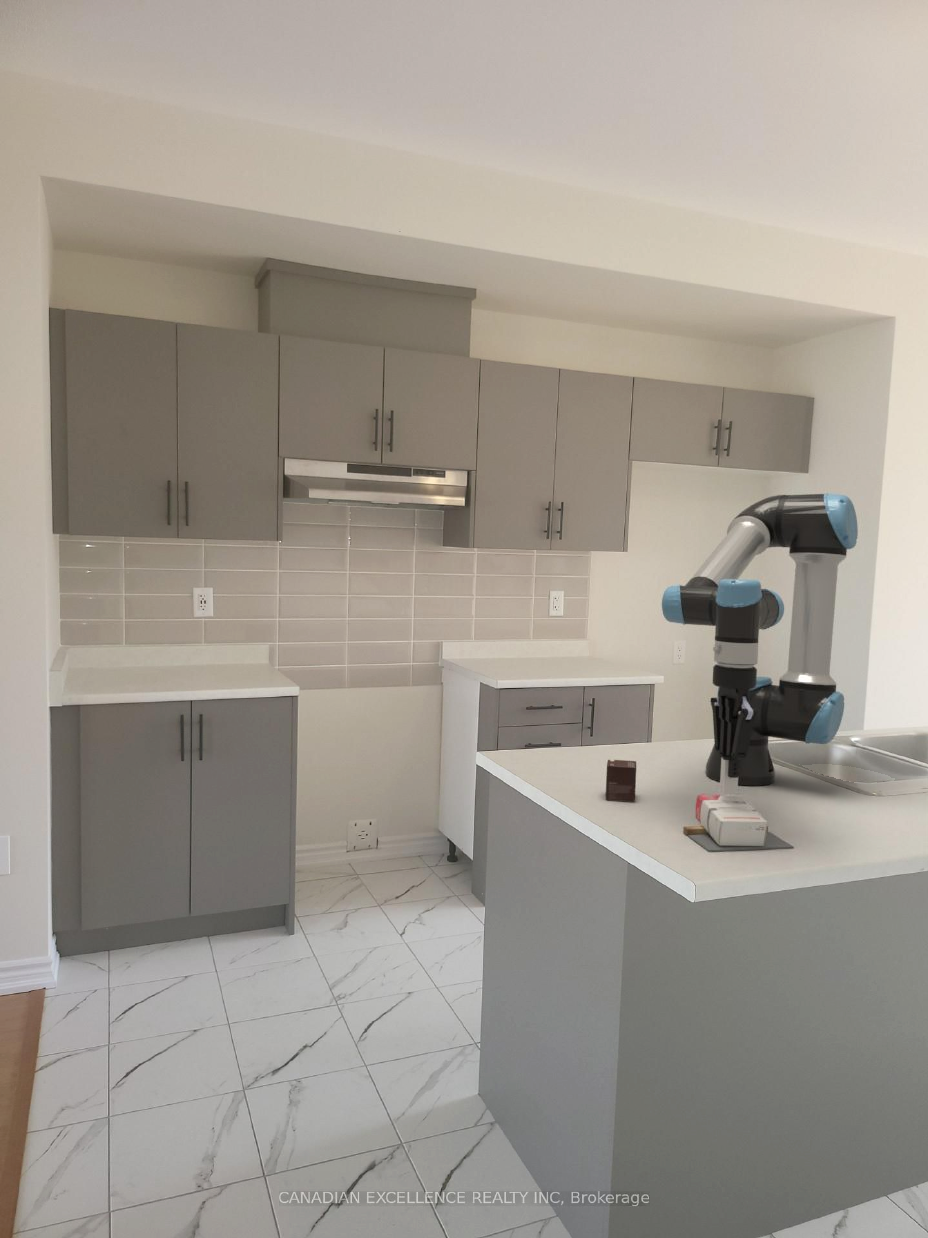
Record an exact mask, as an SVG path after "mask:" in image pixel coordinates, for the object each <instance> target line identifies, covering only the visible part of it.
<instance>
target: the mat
mask: <svg viewBox="0 0 928 1238" xmlns="http://www.w3.org/2000/svg"><path fill="white" fill-rule="evenodd" d="M687 837H688V838H689V839H690V840H692V841H693V842H695V843H696V844H697V845H699V846H700V847H701V848H703V850H705V851H707V852H708V853H716V852H719V853H720V852H736V851H737V852H740V851H743V852H744V851H758V850H759V851H760V850H761V851H762V850H765V851H766V850H787V849H794V848H795V846H793V845H792V844H790V843H789V842H787V841H786V840H783V839H782V838H780V837H778V836H777V835H775V834H774V833H772V832H770V831H768V832H766V838H765V844H764V846H720V845H718V844H717V842H716V841H715V840H714V839H713V838H712V836H711V835H710V834H704V835H688V836H687Z"/></svg>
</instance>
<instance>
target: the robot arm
mask: <svg viewBox="0 0 928 1238" xmlns="http://www.w3.org/2000/svg"><path fill="white" fill-rule="evenodd" d="M856 513H857V512H856V508H855V505H854V504H853V501H852V500H851V499H850V497H849V496H847V495H845V494H839V493H838V494H837V493H815V494H814V493H813V494H807V493H806V494H778V495H777V494H776V495H772V496H768V497H766V498H762V499H761V500H759V501H757V502H755V503H753V504H751V505H749V506H748V507H746V508H744V509H743V510H742V511H741V512H739V513H738V514H737V515H736V517H734V518H733V520H732V521H731V522H730V523H729V524H728V527H727V530H726V535H725V536H724V538H723V539H722V540H721V542H720V543H719V544H718V545H717V547H715V549H714V550H713V551H712V552H711V554H710V555H709V556H708V558H706V560H705V561H704V562H703V563H702V565H701V566H700V567H699V568H698V570H697V571H696V572H695V573H694V574H693V576H692V577H691V578H690V579H689V580H688V581H687V582H686V584H685V585H681V584H678V585H670V586H667V588H666V589H665V590H664V591H663V592H664V593H663V595H662V599H661V611H662V615H663V618H664V619H665V620H666V621H668V622H669V623H674V624H682V625H685V626H686V625H695V626H709V627H715V632H714V633H715V635H714V646H713V648H712V651H713V653H714V654H713V661H714V662H715V663H716V664H715V665H713V668H712V685H714V686H715V687H718V688H717V696H716V697H711V698H710V706H711V709H712V720H713V721H712V722H713V724H712V725H713V740H714V741H713V742H714V744H713V746H712V749H711V752H710V754H709V757H708V759H707V761H706V765H705V775H706V777H708V778H710V779H712V780H713V781H717V782H719V793H720V795H721V794H722V795H738V790H739V789H738V787H739V786H766V785H770V784H773V783H774V782H775V775H776V772H775V771H776V770H775V767H774V765H773V760H772V757H771V752H770V749H769V738H776V739H782V740H788V741H795V742H803V743H805V744H808V745H809V744H818V745H826V744H829V743H830V742H832V741H833V740H834V738H835V737H836V735H837V733H838V731H839V728H841V723H842V720H843V716H844V710H845V702H844V701H845V697H844V694H843V693H841V692H840V691H836V690H837V682H836V681H835V680H834V679H833V678H832V676H831V674H830V671H831V659H832V656H831V655H832V645H833V635H834V634H833V633H834V620H835V609H836V608H835V607H836V597H837V596H836V593H837V583H838V582H837V581H838V572H839V571H838V570H839V568H838V567H839V565H840V564H841V563H842V562H843V561H844V560H845V559H847V552H848V550H852V549H854V548H855V547H856V545H857V540H858V537H859V536H858V533H859V532H858V531H859V530H858V529H859V528H858V518H857V514H856ZM771 548H789V551H788V552H789V553H788V556H789V557H790V558H791V559H792V560H793V561H794V563H795V569H794V571H795V572H794V573H795V574H794V583H793V597H792V611H791V621H790V622H791V623H790V636H789V648H788V660H787V661H788V662H787V671H786V672H785V673H784V674H783V675H782V676H780V677H779V680H778V681H779V684H778V685H775V684H773V681H772V678H771V677H768V676H767V677H765V676H757V673H758V669H757V668H756V667H755V665H757V664H758V657H759V656H758V655H759V633H760V630H767V629H770V628H772V627H773V626H776V625H778V624H779V623H780V622H781V620H782V619H783V616H784V613H785V604H784V601H783V599H782V597H781V596H780V595H779V594H778V593H777V592H775V591H773V590H771V589H768V588H762V585H761V582H760V581H759V580H755V579H744V578H743V579H739V578H740V577H741V576H742V575H743V573H744V572H745V570H746V569H747V568H748V566H749V565H750V563H751V562H752V561H753V560H754V559H755V557H756V556H757V555H758V556H759V555H761V554H762V553H764V552H765V551H766V550H767V549H771Z"/></svg>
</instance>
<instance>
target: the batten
mask: <svg viewBox="0 0 928 1238" xmlns="http://www.w3.org/2000/svg"><path fill="white" fill-rule="evenodd" d="M682 829H683V834H684V835H685V836H686V837H688V835H704V834H709V833H708V832H707V830H706V829H705V828H704V827H703V826H702V825H697V826H696V825H694V826H683V828H682ZM766 832H769V826H768V825H767V831H766Z"/></svg>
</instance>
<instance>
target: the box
mask: <svg viewBox="0 0 928 1238" xmlns="http://www.w3.org/2000/svg"><path fill="white" fill-rule="evenodd" d="M636 783H637V761H636V760H623V759H622V760H621V759H607V763H606V781H605V800H606V801H612V802H613V801H618V802H629V803H635V802H636V789H637V788H636V785H637V784H636Z"/></svg>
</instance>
